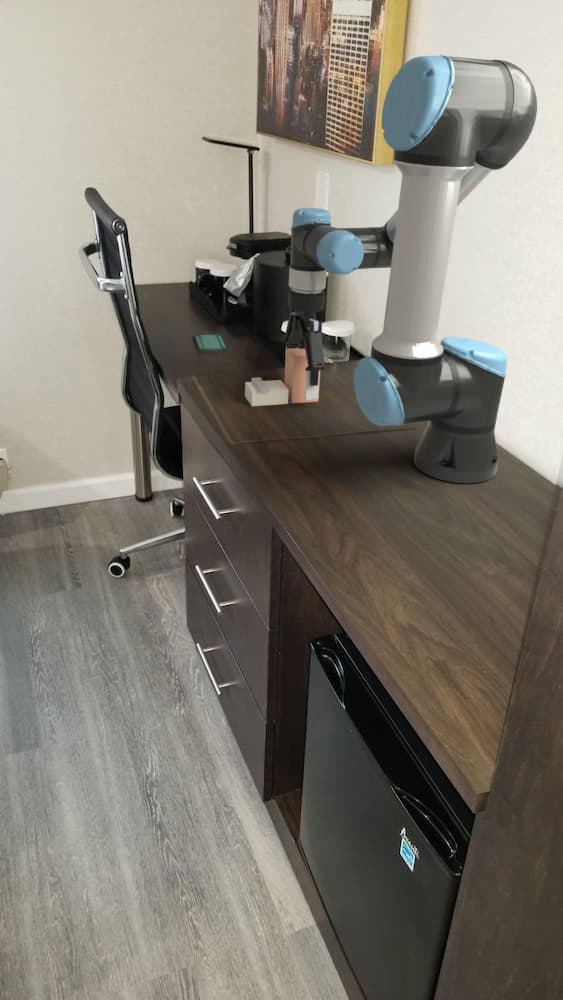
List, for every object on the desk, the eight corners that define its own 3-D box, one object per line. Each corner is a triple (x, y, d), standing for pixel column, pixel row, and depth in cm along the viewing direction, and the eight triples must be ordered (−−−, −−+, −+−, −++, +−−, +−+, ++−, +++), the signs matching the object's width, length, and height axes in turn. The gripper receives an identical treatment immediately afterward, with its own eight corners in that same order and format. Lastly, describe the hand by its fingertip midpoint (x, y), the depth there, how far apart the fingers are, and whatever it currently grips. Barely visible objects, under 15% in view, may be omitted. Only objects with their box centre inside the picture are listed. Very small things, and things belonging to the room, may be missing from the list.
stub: (318, 401, 164) (321, 356, 159) (292, 403, 162) (294, 358, 158) (309, 391, 169) (312, 348, 164) (283, 393, 167) (285, 349, 163)
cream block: (291, 407, 162) (292, 387, 160) (252, 410, 160) (253, 389, 158) (281, 396, 168) (282, 375, 166) (244, 398, 166) (244, 378, 164)
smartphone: (199, 350, 192) (193, 333, 205) (199, 355, 193) (194, 337, 206) (228, 350, 194) (220, 332, 207) (228, 354, 194) (220, 337, 207)
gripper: (346, 304, 145) (337, 407, 155) (305, 275, 166) (300, 368, 176) (309, 305, 143) (302, 409, 153) (272, 275, 164) (269, 369, 174)
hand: (301, 387), depth 165 cm, fingers open, 13 cm apart
